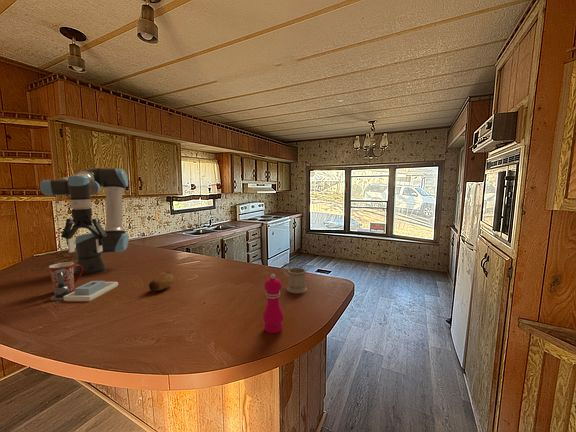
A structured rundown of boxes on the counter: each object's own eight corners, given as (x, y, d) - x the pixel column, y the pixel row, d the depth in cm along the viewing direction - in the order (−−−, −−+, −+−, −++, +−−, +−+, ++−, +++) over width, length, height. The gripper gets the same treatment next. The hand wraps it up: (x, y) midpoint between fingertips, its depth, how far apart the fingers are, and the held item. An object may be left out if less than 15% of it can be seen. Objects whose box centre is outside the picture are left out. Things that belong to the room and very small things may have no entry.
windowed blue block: (89, 297, 114) (88, 288, 114) (75, 297, 114) (74, 288, 114) (107, 287, 126) (107, 279, 126) (95, 287, 126) (94, 279, 126)
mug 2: (310, 288, 124) (310, 265, 123) (297, 295, 117) (297, 270, 116) (289, 281, 134) (289, 260, 133) (276, 287, 127) (276, 264, 126)
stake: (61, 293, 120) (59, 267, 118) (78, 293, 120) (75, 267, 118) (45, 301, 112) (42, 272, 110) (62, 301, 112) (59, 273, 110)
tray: (95, 285, 129) (95, 281, 129) (118, 285, 129) (117, 281, 129) (63, 301, 112) (63, 296, 111) (90, 301, 111) (89, 296, 111)
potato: (156, 299, 120) (143, 290, 120) (174, 283, 132) (162, 275, 132) (161, 289, 117) (147, 280, 117) (179, 274, 129) (166, 265, 129)
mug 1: (56, 296, 116) (53, 268, 115) (48, 292, 121) (45, 265, 119) (88, 287, 127) (86, 261, 126) (79, 284, 132) (77, 259, 130)
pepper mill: (263, 323, 92) (262, 271, 90) (282, 322, 92) (282, 270, 90) (263, 334, 85) (262, 277, 83) (284, 333, 85) (283, 277, 83)
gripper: (47, 209, 114) (53, 253, 117) (101, 209, 114) (105, 254, 117) (62, 207, 122) (67, 249, 125) (113, 207, 122) (116, 249, 125)
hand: (86, 251), depth 121 cm, fingers open, 13 cm apart
